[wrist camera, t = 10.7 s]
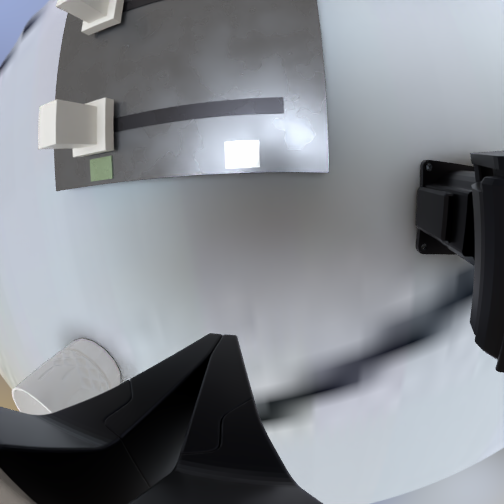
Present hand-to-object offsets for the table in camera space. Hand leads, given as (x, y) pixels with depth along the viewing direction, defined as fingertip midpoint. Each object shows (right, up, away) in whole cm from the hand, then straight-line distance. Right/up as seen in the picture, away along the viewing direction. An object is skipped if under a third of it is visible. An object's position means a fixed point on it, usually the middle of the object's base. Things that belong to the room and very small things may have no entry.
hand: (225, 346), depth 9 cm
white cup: (-16, -9, +18) cm, 25 cm away
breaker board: (-5, +17, +8) cm, 19 cm away
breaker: (-10, +21, +5) cm, 24 cm away
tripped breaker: (-10, +11, +8) cm, 17 cm away
